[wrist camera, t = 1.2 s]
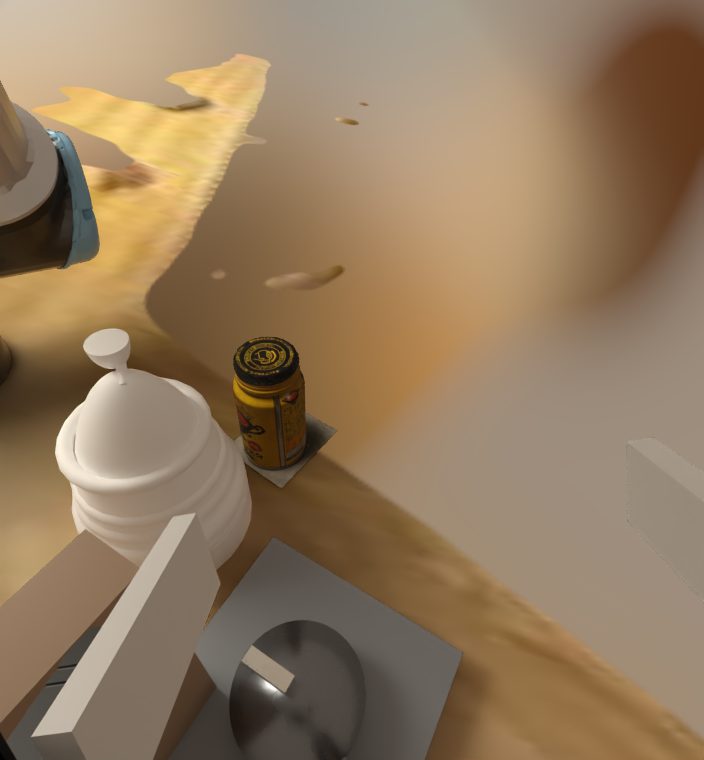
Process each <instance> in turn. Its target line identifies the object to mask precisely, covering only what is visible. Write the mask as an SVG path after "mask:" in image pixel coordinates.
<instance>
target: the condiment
mask: <svg viewBox="0 0 704 760" xmlns="http://www.w3.org/2000/svg"><path fill="white" fill-rule="evenodd" d="M233 365H234V370H235V377H234V382H233V392H234V398H235V402H236V407H237V413H238V418H239V424H240V429H241V436H240V437H238V438H237V439H236V440H235V441H234V443H235V445H236V446H237V448H238V449H239V451H240V453H241V454H242V456H243V460H244V463H246V464H247V465H248V466H250V467H251V468H253V469H254V470H255V471H257V472H258V473H259V474H261V475H262V476H264V477H265V478H267V479H269V480H270V481H271V482H273V483H274V484H275V485H277V486H278V487H280V488H282V487H283V486H284V485H285V484H286V483H287V482H288V481H289V480H290V479H291V478H292V477H293V476H294V475H295V474H296V473H297V472H298V471H299V470H300V469H301V468H302V467H303V466H304V465H305V464H306V463H307V462H308V461H309V460H310V459H311V458H312V457H313V456H314V454H315V453H316V452H317V451H318V450H319V449H320V448H321V447H322V446H323V445H324V444H325V443H326V442H327V441H328V440H329V439H330V438H331V437H332V436H333V435H334V434H335V433H336V432H337V430H336V429H334V428H332V427H330V426H328V425H326V424H324V423H323V422H321V421H320V420H318V419H316V418H314V417H313V416H311V415H310V414H308V413H305V386H304V384H305V382H304V377H303V374H302V373H301V371H300V366H299V357H298V353H297V352H296V350H295V348H294V346H293V345H291V344H290V343H289V342H287V341H285V340H283V339H280V338H277V337H260V338H256V339H252V340H250V341H248V342H246V343H245V344H243V345H242V346H241V347H239V348H238V349H237V352H236V354H235V355H234V364H233ZM308 445H309V446H308Z"/></svg>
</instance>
